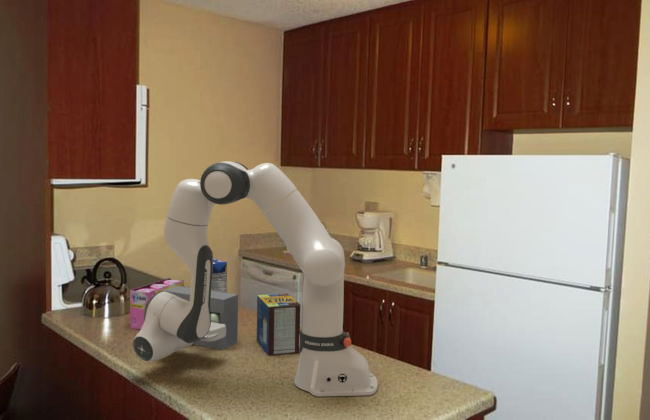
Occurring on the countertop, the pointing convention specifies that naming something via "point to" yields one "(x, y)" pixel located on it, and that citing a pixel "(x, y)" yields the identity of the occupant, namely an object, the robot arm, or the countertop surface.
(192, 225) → the robot arm
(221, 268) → the beverage box
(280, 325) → the protein box
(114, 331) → the countertop surface
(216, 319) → the sage button
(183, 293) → the button panel
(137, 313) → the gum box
